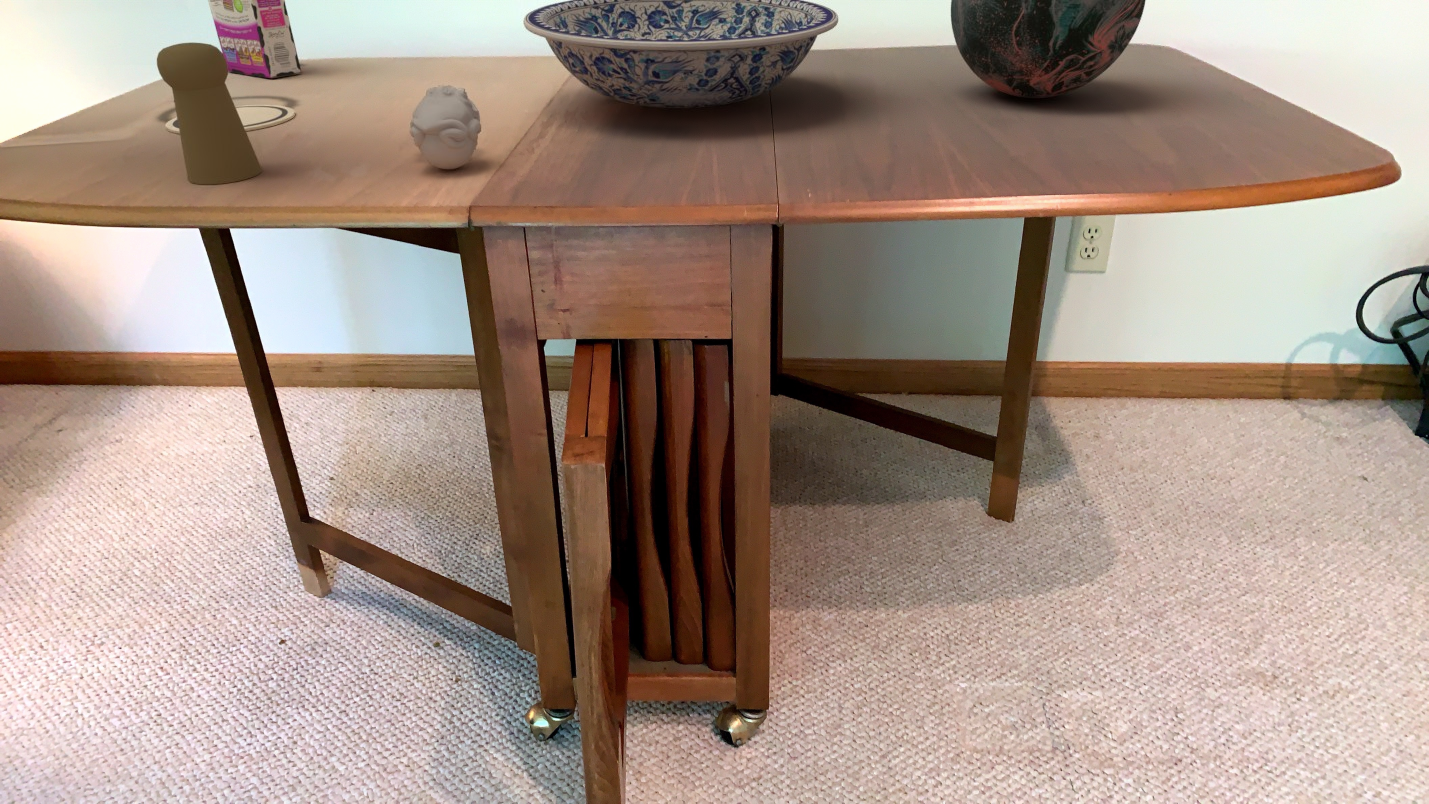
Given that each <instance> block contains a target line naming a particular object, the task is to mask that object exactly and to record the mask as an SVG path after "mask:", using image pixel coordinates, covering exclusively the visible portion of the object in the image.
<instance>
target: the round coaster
mask: <svg viewBox="0 0 1429 804" xmlns="http://www.w3.org/2000/svg"><path fill="white" fill-rule="evenodd" d="M235 108H236V110H237V112H238V115H239V117H240V119H241V122H242V124H243V126H244V129H245V131H246V132H250V131H256V130H261V129H266V128H270V127H273V126H277V125H280V124H283V123H286V122H288V121H290V120H291V119H293V118H294V117H295V116H296V111H295V110H294V108H291V107H288V106H284V105H277V104H276V105H275V104H247V105H245V104H244V105H235ZM165 130H167V131H168V132H169V133H170V132H171V133H173V134H179V135H180V131H179V125H178V120H177V116H176V117H174V118H172V119H170V120H168V121H167V122H166V123H165Z"/></svg>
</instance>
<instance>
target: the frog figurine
mask: <svg viewBox="0 0 1429 804" xmlns="http://www.w3.org/2000/svg"><path fill="white" fill-rule="evenodd" d="M468 96H469V95H468V92H467V91H466V88H464V87H455V86H452V85H450V84H446V85H444V84H441V85H440V84H439V85H437V86H433V87H430V88H428V89H426V92H425V95H424V97H422V99H421V100H420V101H419V103H418V104H417V105H416V107H415V108H414V110H413V113H412V119H411V121H410V129H409V134H410V136H411V138H413V144H414V145H415V146H416V147H417V148H418V150H419V152H420V154H421V155H422V157H423V158H424V159H425V160H426V161H427V162H428V163H429V164H430V165H432V166H434V167H435V168H438V169H443V170H456V169H458V168H461V167H463V166H465V165H466V164H467V163H468V162H469V161H470V160H471V158H472V157H473V155H474V153H475V151H476V149H477V146H478V144H479V143H478V139H479V134H480V133H481V131H482V124H481V121H480V120H481V116H480V111H479V108H478V107H477V106H476V104H475V103H474V102H473V101H472V100H471V99H470V98H469V97H468Z"/></svg>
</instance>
